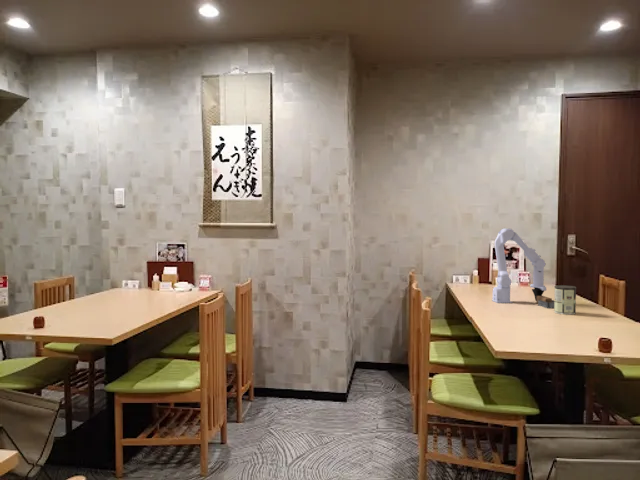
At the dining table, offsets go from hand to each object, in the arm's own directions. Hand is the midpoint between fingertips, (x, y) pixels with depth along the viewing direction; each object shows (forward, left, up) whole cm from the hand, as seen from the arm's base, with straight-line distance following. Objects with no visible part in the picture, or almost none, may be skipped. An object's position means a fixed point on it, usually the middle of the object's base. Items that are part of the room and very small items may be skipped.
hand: (537, 301), depth 283 cm
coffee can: (-2, -31, -1) cm, 31 cm away
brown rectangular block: (0, -7, -1) cm, 7 cm away
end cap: (0, -13, -1) cm, 13 cm away
